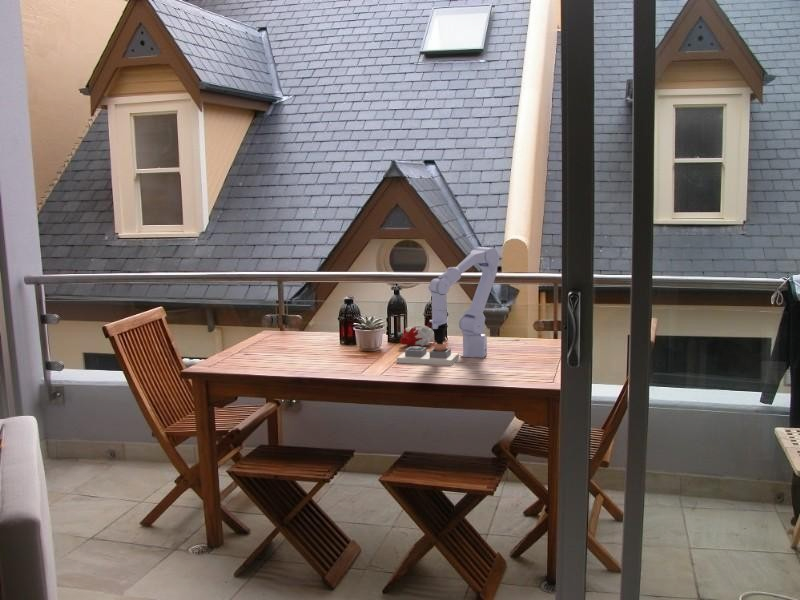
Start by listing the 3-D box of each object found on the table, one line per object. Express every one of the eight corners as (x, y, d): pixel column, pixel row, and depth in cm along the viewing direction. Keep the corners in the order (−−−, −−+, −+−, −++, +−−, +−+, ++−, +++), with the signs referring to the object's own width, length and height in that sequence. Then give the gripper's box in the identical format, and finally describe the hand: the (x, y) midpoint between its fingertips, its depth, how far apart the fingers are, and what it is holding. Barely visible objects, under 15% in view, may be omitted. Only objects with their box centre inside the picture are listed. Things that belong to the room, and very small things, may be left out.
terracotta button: (447, 348, 314) (447, 342, 314) (444, 351, 310) (444, 345, 310) (436, 348, 316) (435, 342, 315) (432, 350, 311) (432, 344, 311)
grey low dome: (423, 352, 318) (422, 346, 317) (419, 355, 313) (419, 349, 313) (412, 352, 319) (411, 346, 319) (408, 354, 315) (408, 348, 314)
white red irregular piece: (435, 342, 344) (415, 353, 333) (414, 339, 351) (393, 350, 340) (433, 323, 342) (413, 333, 331) (412, 320, 349) (391, 330, 337)
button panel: (458, 358, 317) (458, 347, 317) (451, 365, 306) (451, 353, 305) (406, 355, 324) (405, 344, 323) (397, 362, 313) (396, 351, 312)
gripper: (434, 306, 318) (435, 339, 320) (424, 312, 305) (425, 347, 307) (451, 306, 316) (452, 340, 318) (442, 312, 303) (442, 347, 305)
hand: (440, 343), depth 312 cm, fingers closed, pressing on terracotta button
